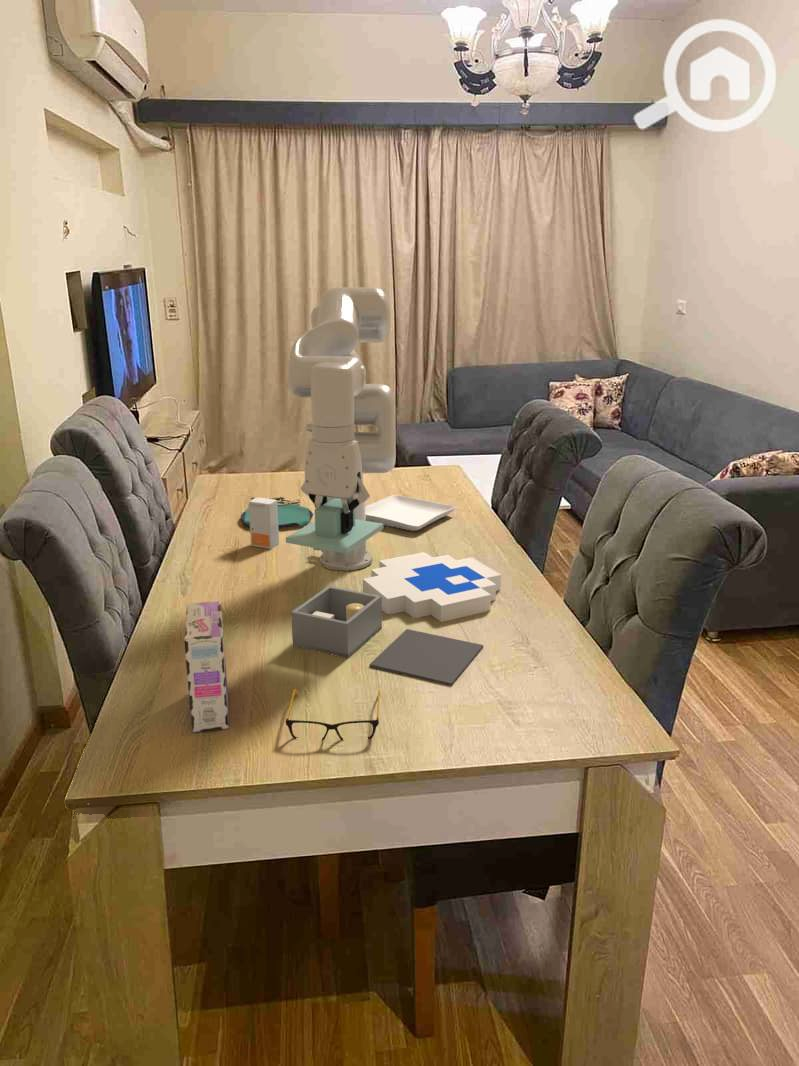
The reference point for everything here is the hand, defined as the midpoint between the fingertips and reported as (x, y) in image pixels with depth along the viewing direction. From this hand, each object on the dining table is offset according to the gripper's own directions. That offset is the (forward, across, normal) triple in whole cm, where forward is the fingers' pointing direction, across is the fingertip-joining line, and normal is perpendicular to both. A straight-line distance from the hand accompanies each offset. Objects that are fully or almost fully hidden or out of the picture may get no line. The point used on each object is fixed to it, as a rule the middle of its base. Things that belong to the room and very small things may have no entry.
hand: (335, 528), depth 153 cm
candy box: (+22, -6, -32) cm, 40 cm away
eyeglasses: (+23, +14, -26) cm, 37 cm away
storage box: (+22, 0, 0) cm, 22 cm away
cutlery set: (+24, -53, +60) cm, 83 cm away
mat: (+22, +19, 0) cm, 29 cm away
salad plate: (+24, -19, +72) cm, 78 cm away
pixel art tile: (+23, +8, +28) cm, 37 cm away
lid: (+1, 0, 0) cm, 1 cm away
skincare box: (+23, -42, +37) cm, 60 cm away
